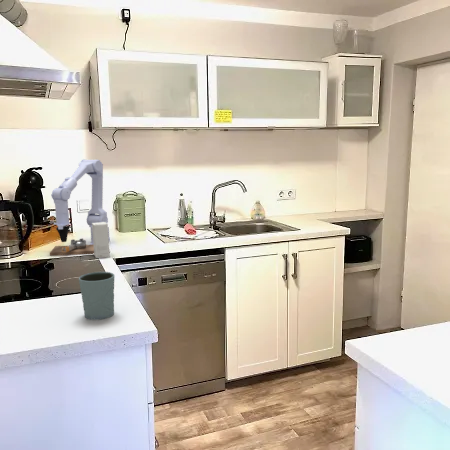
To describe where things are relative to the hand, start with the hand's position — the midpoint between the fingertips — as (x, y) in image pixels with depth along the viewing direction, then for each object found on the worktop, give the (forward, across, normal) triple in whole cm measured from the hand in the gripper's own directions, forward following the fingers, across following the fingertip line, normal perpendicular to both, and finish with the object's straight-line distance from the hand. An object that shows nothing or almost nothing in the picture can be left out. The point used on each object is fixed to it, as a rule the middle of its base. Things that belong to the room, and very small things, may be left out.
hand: (64, 241), depth 217 cm
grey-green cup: (+5, +88, +23) cm, 91 cm away
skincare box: (+6, +10, +18) cm, 21 cm away
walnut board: (+6, -3, +4) cm, 8 cm away
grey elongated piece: (+4, 0, +4) cm, 6 cm away
